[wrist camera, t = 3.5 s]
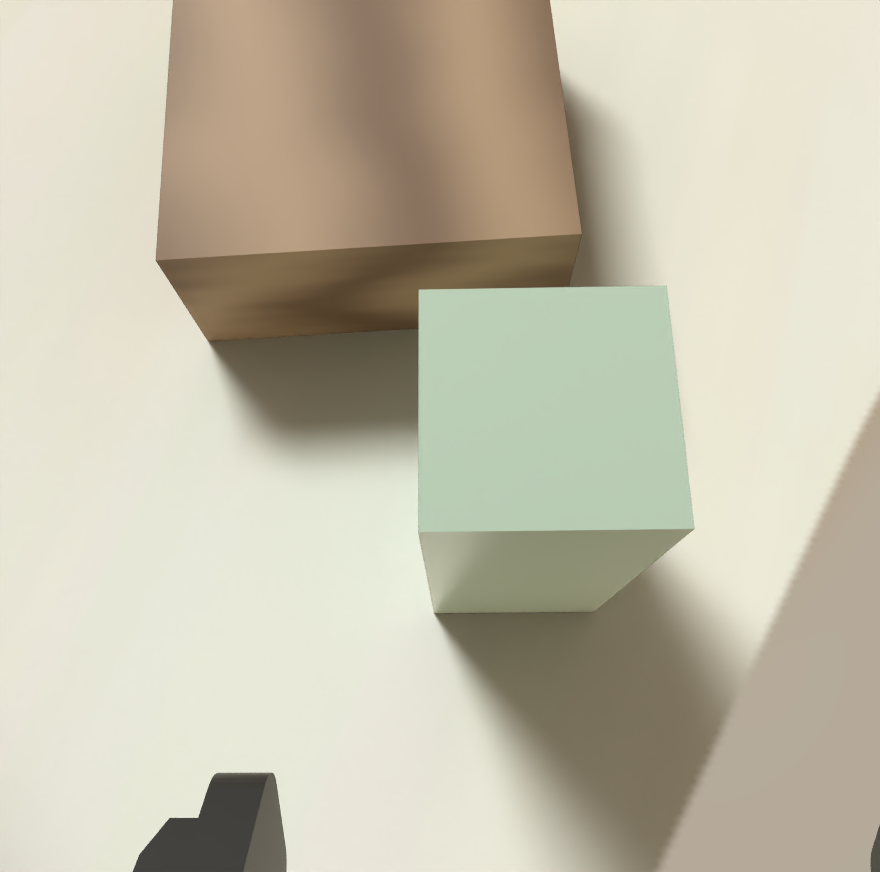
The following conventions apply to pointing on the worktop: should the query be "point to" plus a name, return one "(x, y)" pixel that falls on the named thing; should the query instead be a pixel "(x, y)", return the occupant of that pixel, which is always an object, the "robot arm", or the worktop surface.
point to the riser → (360, 160)
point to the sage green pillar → (546, 445)
